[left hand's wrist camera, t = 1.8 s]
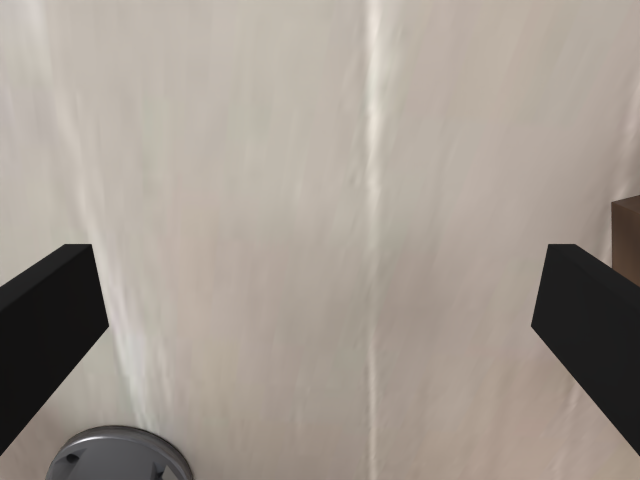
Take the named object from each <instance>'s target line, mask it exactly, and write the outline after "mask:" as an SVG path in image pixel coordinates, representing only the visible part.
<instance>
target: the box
mask: <svg viewBox="0 0 640 480" xmlns="http://www.w3.org/2000/svg"><path fill="white" fill-rule="evenodd" d="M612 269H613V270H615V271H616V272H618V273H619V274H621V275H622V276H624V277H625V278H627V279H628V280H630V281H631V282H633V283H634V284H636V285H637V286H639V287H640V195H639V196H635V197H631V198H627V199H623V200H618V201H614V202H612Z"/></svg>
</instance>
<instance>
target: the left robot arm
mask: <svg viewBox="0 0 640 480" xmlns="http://www.w3.org/2000/svg"><path fill="white" fill-rule="evenodd" d="M108 327H109V323H108V319H107V314H106V309H105V305H104V300H103V295H102V291H101V286H100V281H99V277H98V272H97V267H96V263H95V258H94V253H93V249H92V244H64V245H63V246H61V247H60V248H58V249H57V250H55V251H54V252H52V253H51V254H49V255H48V256H46V257H45V258H43V259H42V260H40V261H39V262H37V263H36V264H34V265H33V266H31V267H30V268H28V269H27V270H25V271H24V272H22V273H21V274H19V275H18V276H16V277H15V278H13V279H12V280H10V281H9V282H7V283H6V284H4V285H3V286H1V287H0V456H1V455H2V454H3V452H4V451H5V450H6V449H7V448H8V446H9V445H10V444H11V443H12V442H13V440H14V439H15V438H16V437H17V436H18V434H19V433H20V432H21V431H22V430H23V428H24V427H25V426H26V425H27V424H28V422H29V421H30V420H31V419H32V418H33V417H34V415H35V414H36V413H37V412H38V411H39V409H40V408H41V407H42V406H43V405H44V403H45V402H46V401H47V400H48V399H49V397H50V396H51V395H52V394H53V393H54V391H55V390H56V389H57V388H58V387H59V385H60V384H61V383H62V382H63V381H64V380H65V378H66V377H67V376H68V375H69V374H70V372H71V371H72V370H73V369H74V368H75V366H76V365H77V364H78V363H79V362H80V360H81V359H82V358H83V357H84V356H85V354H86V353H87V352H88V351H89V350H90V348H91V347H92V346H93V345H94V344H95V343H96V341H97V340H98V339H99V338H100V337H101V335H102V334H103V333H104V332H105V331H106V329H107V328H108ZM531 327H532V328H533V329H534V331H535V332H536V333H537V334H538V335H539V337H540V338H541V339H542V340H543V341H544V343H545V344H546V345H547V346H548V347H549V348H550V350H551V351H552V352H553V353H554V354H555V356H556V357H557V358H558V359H559V360H560V362H561V363H562V364H563V365H564V366H565V368H566V369H567V370H568V371H569V372H570V374H571V375H572V376H573V377H574V378H575V380H576V381H577V382H578V383H579V384H580V385H581V387H582V388H583V389H584V390H585V391H586V393H587V394H588V395H589V396H590V397H591V399H592V400H593V401H594V402H595V403H596V405H597V406H598V407H599V408H600V409H601V411H602V412H603V413H604V414H605V415H606V417H607V418H608V419H609V420H610V421H611V422H612V424H613V425H614V426H615V427H616V428H617V430H618V431H619V432H620V433H621V434H622V436H623V437H624V438H625V439H626V440H627V442H628V443H629V444H630V445H631V446H632V448H633V449H634V450H635V451H636V452H637V454H638V455H639V456H640V287H639V286H637V285H636V284H634V283H633V282H631V281H630V280H628V279H627V278H625V277H624V276H622V275H621V274H619V273H618V272H616V271H615V270H613V269H612V268H610V267H609V266H607V265H606V264H604V263H603V262H601V261H600V260H598V259H597V258H595V257H594V256H592V255H591V254H589V253H588V252H586V251H585V250H583V249H582V248H580V247H579V246H577V245H576V244H548V249H547V253H546V258H545V263H544V267H543V272H542V277H541V281H540V286H539V291H538V295H537V300H536V305H535V309H534V314H533V319H532V323H531ZM45 480H192V474H191V471H190V468H189V466H188V464H187V462H186V461H185V460H184V458H183V457H182V456H181V454H180V453H179V452H178V451H177V450H176V449H175V448H173V447H172V446H171V445H170V444H168V443H167V442H165V441H164V440H162V439H160V438H159V437H157V436H155V435H152V434H150V433H147V432H145V431H141V430H138V429H134V428H129V427H120V426H105V427H97V428H93V429H89V430H86V431H83V432H81V433H79V434H77V435H75V436H74V437H72V438H71V439H69V440H68V441H67V442H66V443H65V444H64V446H63V447H62V448H61V450H60V451H59V452H58V454H57V455H56V457H55V458H54V460H53V461H52V463H51V465H50V467H49V470H48V472H47V475H46V479H45Z"/></svg>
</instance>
